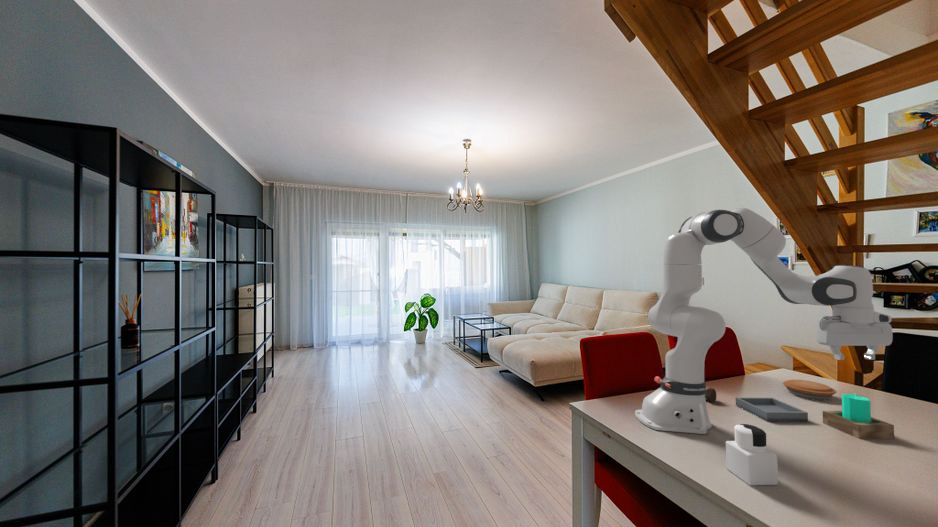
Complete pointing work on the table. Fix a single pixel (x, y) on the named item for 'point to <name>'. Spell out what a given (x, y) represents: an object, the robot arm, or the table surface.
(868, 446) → the table surface
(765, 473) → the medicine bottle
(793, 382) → the pie
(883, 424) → the brown wooden open box
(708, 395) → the dark brown oblong piece
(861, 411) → the teal green prism
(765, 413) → the tray
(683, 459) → the table surface
